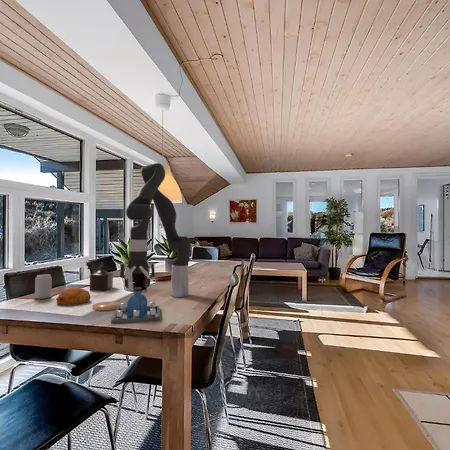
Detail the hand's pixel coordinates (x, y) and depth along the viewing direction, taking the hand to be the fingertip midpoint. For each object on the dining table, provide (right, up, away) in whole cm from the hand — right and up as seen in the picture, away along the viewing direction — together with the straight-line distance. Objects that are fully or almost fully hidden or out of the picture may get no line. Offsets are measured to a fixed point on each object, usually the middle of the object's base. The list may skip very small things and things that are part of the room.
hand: (137, 287), depth 131 cm
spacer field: (0, -12, 0) cm, 12 cm away
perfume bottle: (0, -13, 0) cm, 13 cm away
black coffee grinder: (-37, -12, +50) cm, 63 cm away
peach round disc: (-18, -12, +12) cm, 25 cm away
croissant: (-39, -12, +21) cm, 45 cm away
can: (-58, -12, +29) cm, 66 cm away
